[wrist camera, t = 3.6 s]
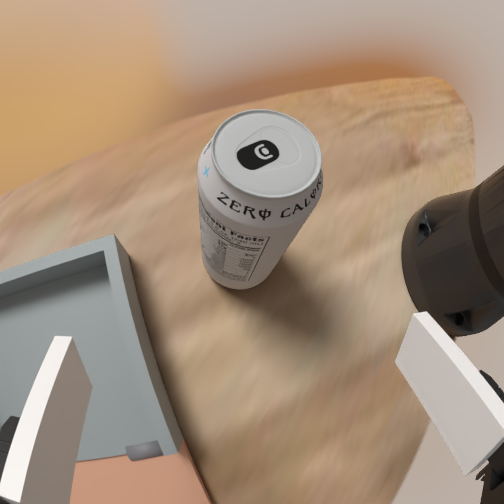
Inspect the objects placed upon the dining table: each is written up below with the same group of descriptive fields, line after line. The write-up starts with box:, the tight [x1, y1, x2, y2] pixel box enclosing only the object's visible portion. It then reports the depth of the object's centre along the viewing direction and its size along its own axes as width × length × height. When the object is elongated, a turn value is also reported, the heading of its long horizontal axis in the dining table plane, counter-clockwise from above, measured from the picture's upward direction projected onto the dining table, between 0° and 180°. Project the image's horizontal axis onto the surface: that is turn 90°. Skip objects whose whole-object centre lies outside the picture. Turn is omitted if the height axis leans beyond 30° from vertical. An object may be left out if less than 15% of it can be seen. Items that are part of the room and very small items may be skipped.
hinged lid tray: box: [0, 234, 212, 504], centre depth 18 cm, size 18×28×4 cm, turn 19°
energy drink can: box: [198, 109, 323, 289], centre depth 20 cm, size 6×6×15 cm
